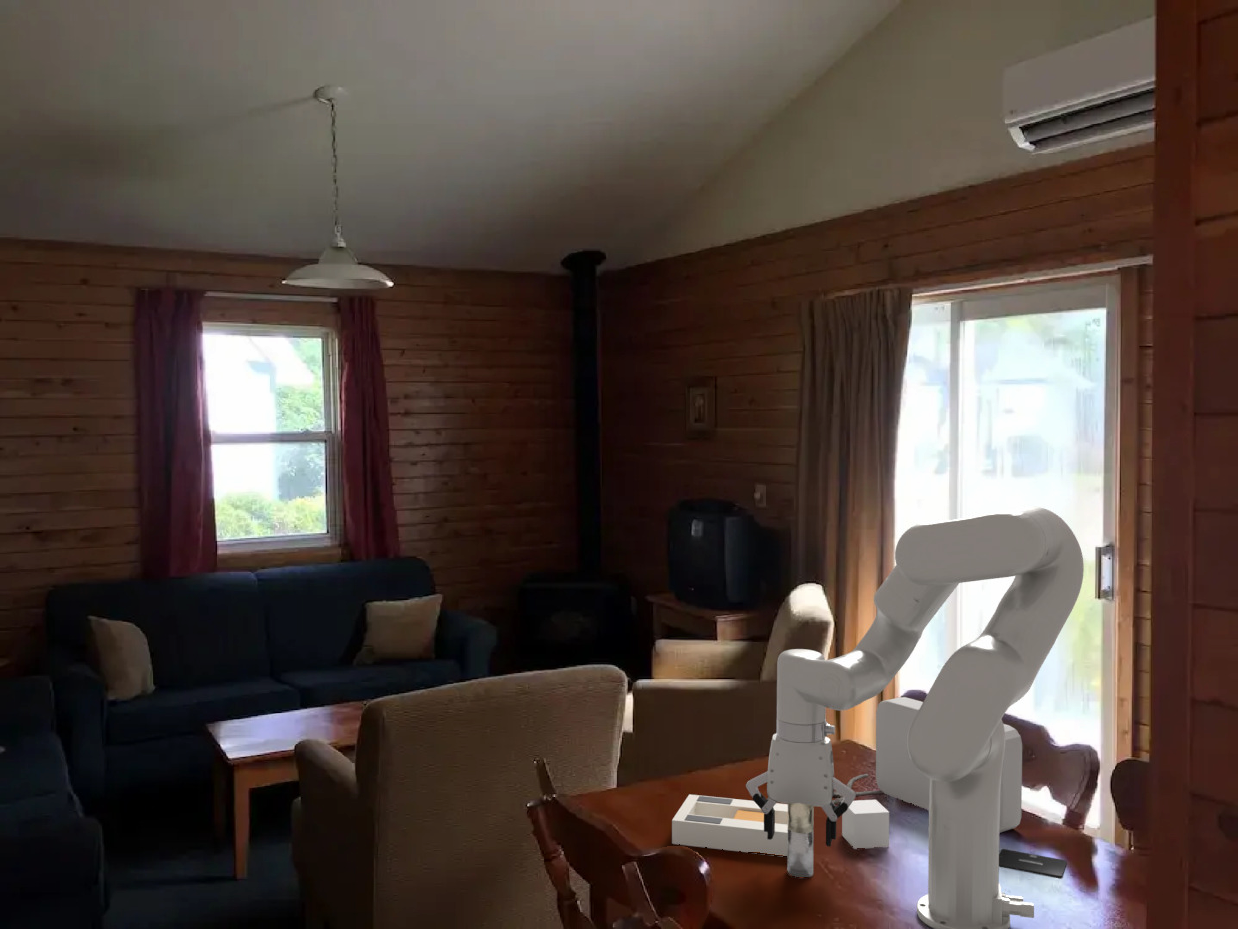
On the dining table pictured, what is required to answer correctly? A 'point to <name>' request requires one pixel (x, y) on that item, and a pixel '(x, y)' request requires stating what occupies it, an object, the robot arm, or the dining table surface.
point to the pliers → (837, 794)
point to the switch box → (728, 826)
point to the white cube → (866, 824)
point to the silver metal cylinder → (800, 840)
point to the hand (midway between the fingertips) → (799, 839)
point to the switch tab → (749, 816)
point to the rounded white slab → (914, 787)
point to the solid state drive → (1032, 863)
